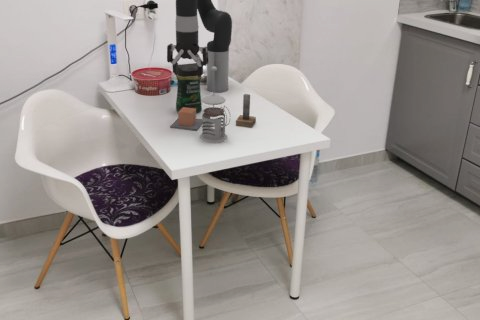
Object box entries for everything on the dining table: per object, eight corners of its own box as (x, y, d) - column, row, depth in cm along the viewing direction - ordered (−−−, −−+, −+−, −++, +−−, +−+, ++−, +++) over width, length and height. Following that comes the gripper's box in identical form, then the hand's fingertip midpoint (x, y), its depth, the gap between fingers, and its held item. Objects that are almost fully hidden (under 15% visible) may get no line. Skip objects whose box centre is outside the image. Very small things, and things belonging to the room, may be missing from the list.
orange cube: (178, 124, 192) (178, 111, 190) (183, 119, 196) (182, 107, 194) (191, 126, 191) (191, 113, 189) (196, 121, 195) (196, 108, 193)
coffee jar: (180, 116, 201) (179, 68, 193) (173, 109, 208) (172, 62, 200) (204, 112, 205) (204, 65, 197) (196, 106, 212) (196, 60, 204)
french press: (212, 129, 191) (212, 60, 180) (237, 138, 184) (239, 67, 173) (193, 137, 184) (192, 66, 173) (218, 146, 177) (219, 73, 166)
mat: (179, 117, 200) (179, 116, 199) (205, 120, 198) (205, 119, 197) (170, 127, 191) (170, 126, 191) (196, 130, 189) (196, 129, 189)
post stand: (239, 119, 200) (240, 91, 195) (255, 121, 198) (256, 93, 193) (235, 125, 194) (236, 96, 189) (251, 127, 193) (253, 98, 188)
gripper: (162, 29, 177) (164, 76, 184) (204, 32, 174) (204, 80, 181) (170, 24, 184) (172, 70, 191) (210, 27, 181) (210, 74, 188)
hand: (188, 75), depth 186 cm, fingers open, 8 cm apart
